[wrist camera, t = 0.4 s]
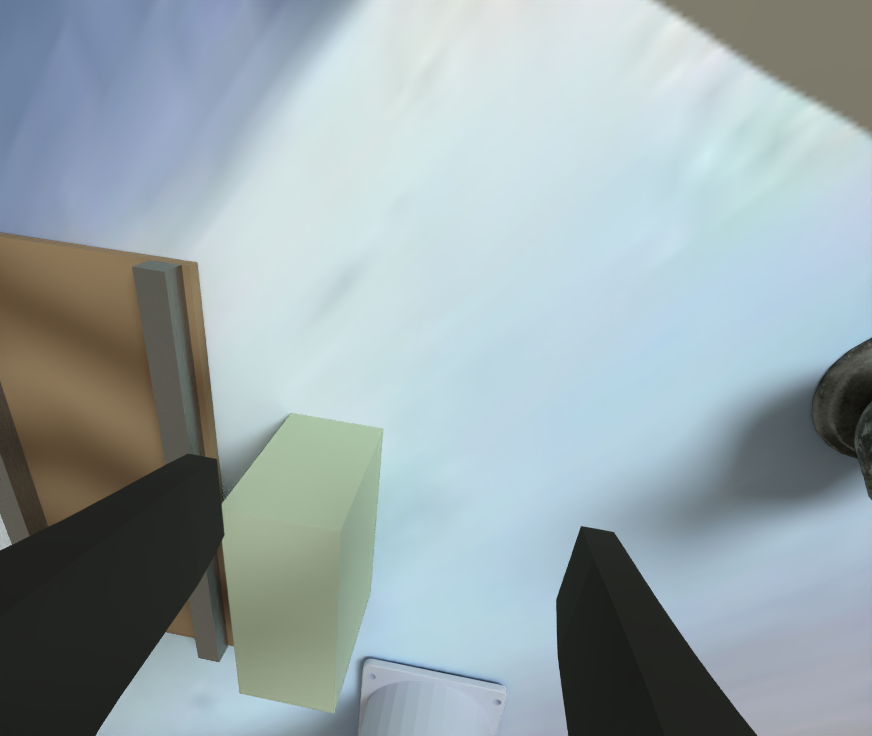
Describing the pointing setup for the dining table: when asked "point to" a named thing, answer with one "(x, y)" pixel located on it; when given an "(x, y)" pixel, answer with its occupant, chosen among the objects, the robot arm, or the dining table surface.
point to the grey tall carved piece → (848, 408)
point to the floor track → (102, 392)
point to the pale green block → (302, 558)
